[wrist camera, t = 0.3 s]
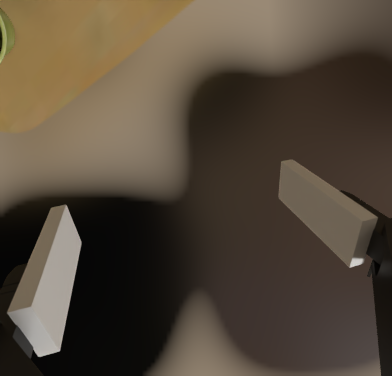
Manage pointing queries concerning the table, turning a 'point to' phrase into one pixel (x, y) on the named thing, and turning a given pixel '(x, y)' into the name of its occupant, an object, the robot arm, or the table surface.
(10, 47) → the plant pot
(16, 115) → the table surface
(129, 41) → the table surface
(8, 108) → the table surface
